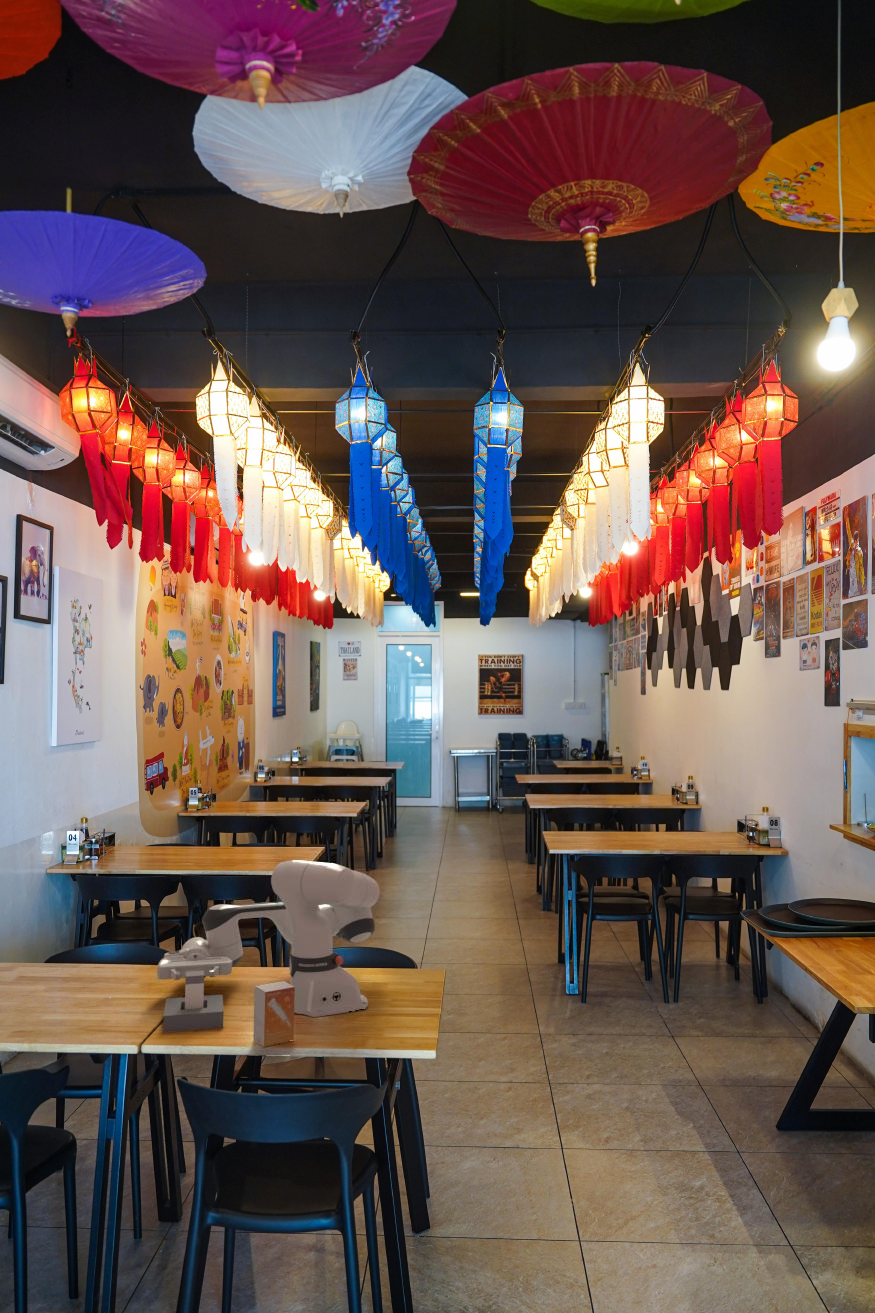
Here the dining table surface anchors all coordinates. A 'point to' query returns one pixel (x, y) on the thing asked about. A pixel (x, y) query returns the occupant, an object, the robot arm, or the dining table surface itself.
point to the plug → (194, 990)
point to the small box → (273, 1013)
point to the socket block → (193, 1014)
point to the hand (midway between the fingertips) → (194, 975)
